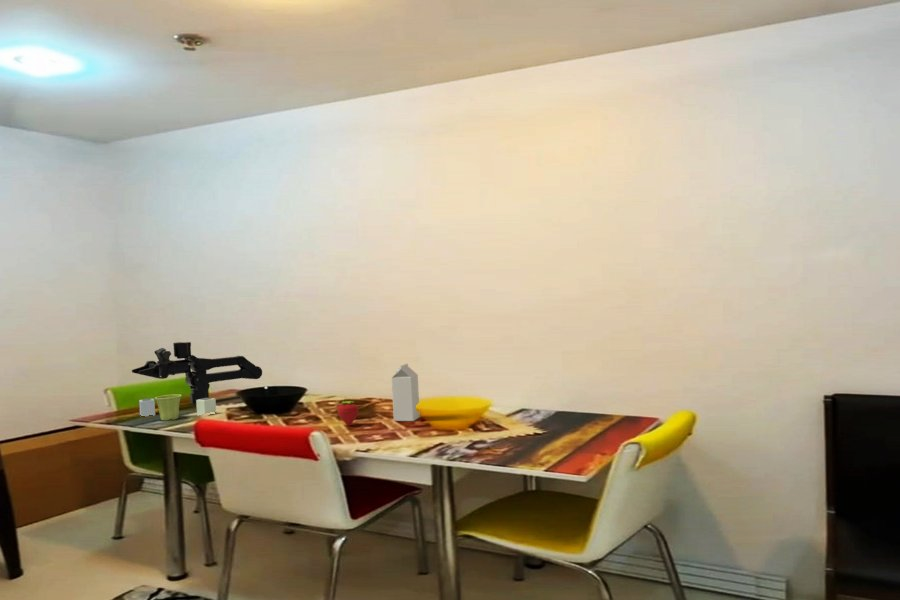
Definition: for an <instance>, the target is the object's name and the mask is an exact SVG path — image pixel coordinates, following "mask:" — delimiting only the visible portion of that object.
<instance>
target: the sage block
mask: <svg viewBox="0 0 900 600" xmlns="http://www.w3.org/2000/svg"><path fill="white" fill-rule="evenodd" d="M216 403H217V401H216V398H212V397H209V398H203V399H199V400H196V404H197V405H196V416H199V415H202V414H206V413H210V412H215V411H216V412H217V404H216ZM199 417H200V416H199Z"/></svg>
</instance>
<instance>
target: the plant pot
mask: <svg viewBox="0 0 900 600" xmlns="http://www.w3.org/2000/svg"><path fill="white" fill-rule="evenodd" d="M181 397H182V394H174V393H173V394H165V395H160V396H156V397H154V400H155V401H156V404H157V409H158V411H159V417H160V421H169V420H172V421H173V420H176V419H178V418H179V415H180V413H179V412H180V401H181Z"/></svg>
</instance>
